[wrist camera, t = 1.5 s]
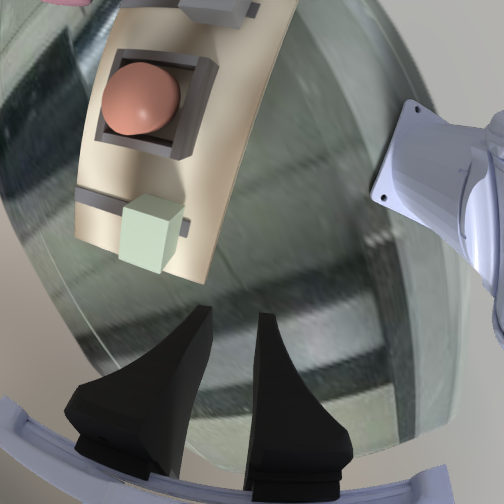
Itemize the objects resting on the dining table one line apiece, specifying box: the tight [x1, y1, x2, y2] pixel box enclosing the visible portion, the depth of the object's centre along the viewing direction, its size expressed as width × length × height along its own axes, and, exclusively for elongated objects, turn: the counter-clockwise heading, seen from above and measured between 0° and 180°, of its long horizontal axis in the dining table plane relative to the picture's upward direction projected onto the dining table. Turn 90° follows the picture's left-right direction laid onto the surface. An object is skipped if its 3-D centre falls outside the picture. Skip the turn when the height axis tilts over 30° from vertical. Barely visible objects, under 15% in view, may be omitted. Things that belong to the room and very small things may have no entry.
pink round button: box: [101, 62, 181, 135], centre depth 13 cm, size 4×4×2 cm
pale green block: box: [119, 193, 185, 274], centre depth 17 cm, size 3×4×3 cm
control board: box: [74, 0, 299, 285], centre depth 15 cm, size 12×22×4 cm, turn 163°
